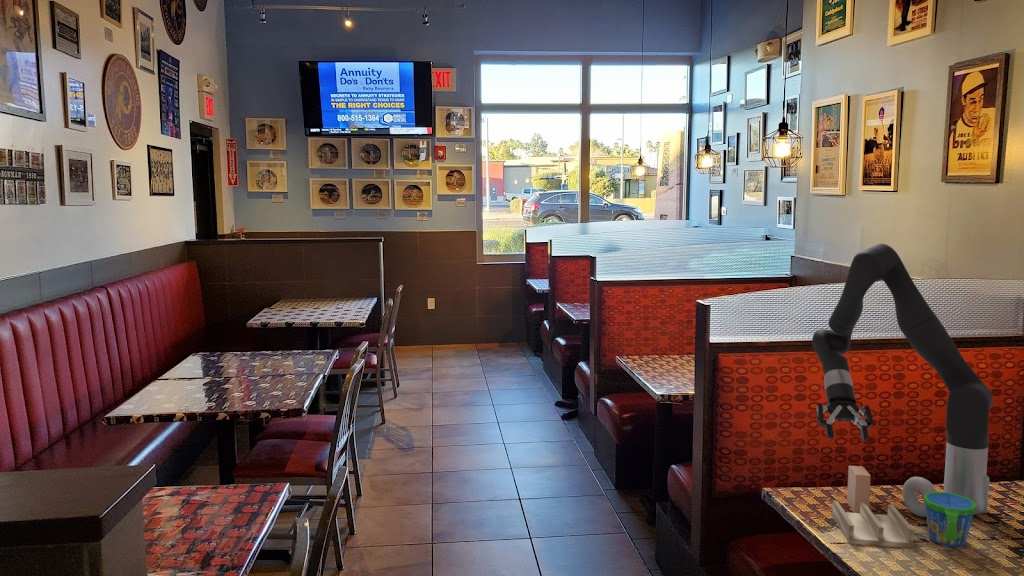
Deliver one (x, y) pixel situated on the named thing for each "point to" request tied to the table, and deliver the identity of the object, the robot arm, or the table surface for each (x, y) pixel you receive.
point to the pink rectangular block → (858, 487)
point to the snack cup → (948, 518)
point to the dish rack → (874, 527)
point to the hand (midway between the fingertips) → (848, 439)
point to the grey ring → (911, 494)
